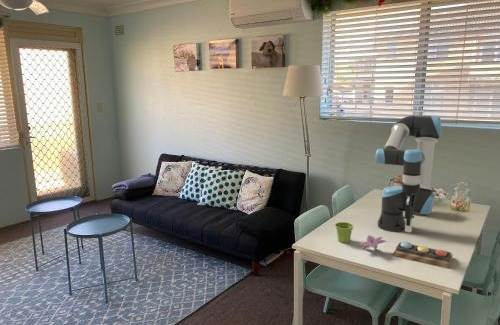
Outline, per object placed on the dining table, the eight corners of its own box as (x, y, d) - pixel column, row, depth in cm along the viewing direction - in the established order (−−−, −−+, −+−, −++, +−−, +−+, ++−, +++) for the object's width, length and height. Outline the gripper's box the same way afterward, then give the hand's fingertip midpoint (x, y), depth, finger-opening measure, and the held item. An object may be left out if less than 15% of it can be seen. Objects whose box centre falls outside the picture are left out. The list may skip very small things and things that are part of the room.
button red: (433, 255, 170) (434, 252, 169) (435, 251, 174) (435, 248, 173) (446, 258, 167) (446, 255, 167) (447, 254, 171) (447, 251, 171)
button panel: (393, 255, 177) (393, 249, 176) (399, 246, 186) (399, 240, 186) (448, 268, 164) (449, 260, 163) (452, 257, 173) (452, 250, 173)
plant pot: (342, 245, 189) (343, 229, 187) (330, 239, 197) (331, 224, 196) (356, 242, 193) (357, 226, 192) (344, 236, 202) (344, 220, 200)
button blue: (399, 247, 178) (399, 244, 178) (401, 244, 182) (402, 241, 182) (410, 250, 175) (410, 247, 175) (412, 246, 179) (413, 243, 179)
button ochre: (416, 252, 174) (416, 249, 174) (418, 248, 178) (418, 245, 178) (427, 254, 171) (428, 251, 171) (429, 250, 175) (430, 247, 175)
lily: (390, 253, 181) (385, 234, 184) (386, 253, 171) (381, 232, 174) (365, 257, 186) (361, 238, 189) (360, 257, 176) (356, 237, 179)
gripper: (417, 187, 165) (414, 237, 170) (422, 181, 175) (419, 228, 180) (399, 185, 169) (396, 234, 174) (405, 179, 180) (402, 225, 184)
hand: (408, 231), depth 177 cm, fingers closed
